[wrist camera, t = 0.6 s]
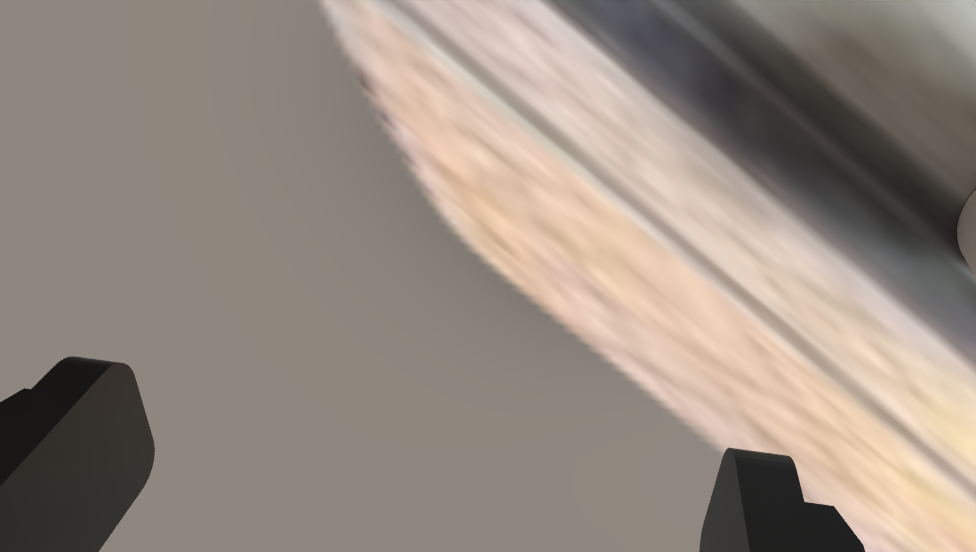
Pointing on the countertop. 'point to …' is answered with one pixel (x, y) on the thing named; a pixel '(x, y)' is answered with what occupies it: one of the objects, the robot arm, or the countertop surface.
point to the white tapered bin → (968, 232)
